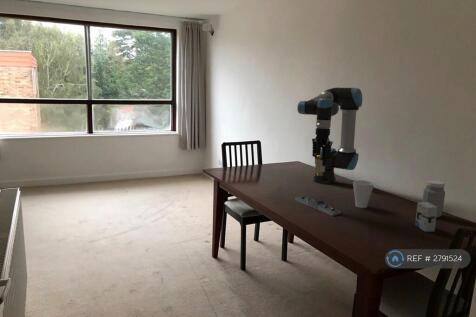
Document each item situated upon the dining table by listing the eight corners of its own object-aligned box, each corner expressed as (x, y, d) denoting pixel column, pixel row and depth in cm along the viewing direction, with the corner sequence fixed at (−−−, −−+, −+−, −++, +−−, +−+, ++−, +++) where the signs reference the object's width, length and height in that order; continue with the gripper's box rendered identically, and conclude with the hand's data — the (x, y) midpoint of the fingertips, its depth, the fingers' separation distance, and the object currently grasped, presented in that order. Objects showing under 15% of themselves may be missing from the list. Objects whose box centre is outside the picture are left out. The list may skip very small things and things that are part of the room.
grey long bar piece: (294, 200, 206) (295, 194, 205) (303, 198, 209) (303, 192, 208) (331, 216, 182) (332, 209, 181) (340, 213, 185) (341, 207, 185)
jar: (417, 211, 192) (421, 179, 189) (435, 212, 192) (440, 179, 188) (426, 218, 183) (430, 184, 179) (445, 218, 182) (450, 184, 179)
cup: (361, 210, 191) (363, 186, 189) (347, 204, 200) (349, 181, 198) (375, 207, 196) (377, 184, 193) (360, 202, 205) (363, 179, 203)
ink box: (414, 224, 173) (417, 201, 170) (423, 224, 173) (427, 201, 171) (424, 231, 164) (428, 207, 162) (434, 231, 165) (438, 207, 163)
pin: (319, 173, 198) (321, 154, 196) (325, 175, 194) (327, 155, 192) (312, 174, 195) (314, 154, 193) (319, 176, 191) (320, 156, 189)
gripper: (307, 126, 195) (304, 168, 199) (329, 129, 181) (325, 174, 185) (317, 126, 198) (314, 167, 203) (339, 129, 185) (335, 173, 189)
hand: (319, 170), depth 194 cm, fingers closed on pin, 3 cm apart
